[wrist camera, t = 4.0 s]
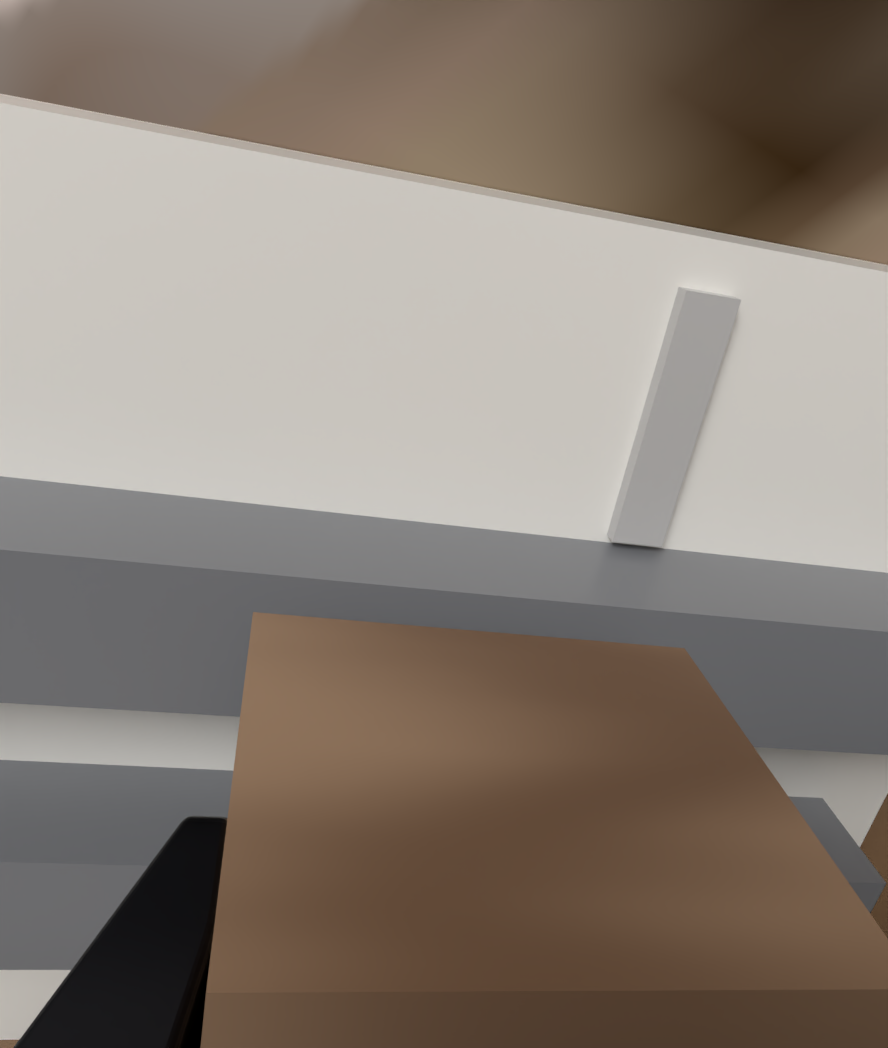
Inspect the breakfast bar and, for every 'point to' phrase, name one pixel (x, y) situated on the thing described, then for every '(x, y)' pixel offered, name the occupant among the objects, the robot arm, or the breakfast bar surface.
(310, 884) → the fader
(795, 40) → the breakfast bar surface
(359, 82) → the breakfast bar surface
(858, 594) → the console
